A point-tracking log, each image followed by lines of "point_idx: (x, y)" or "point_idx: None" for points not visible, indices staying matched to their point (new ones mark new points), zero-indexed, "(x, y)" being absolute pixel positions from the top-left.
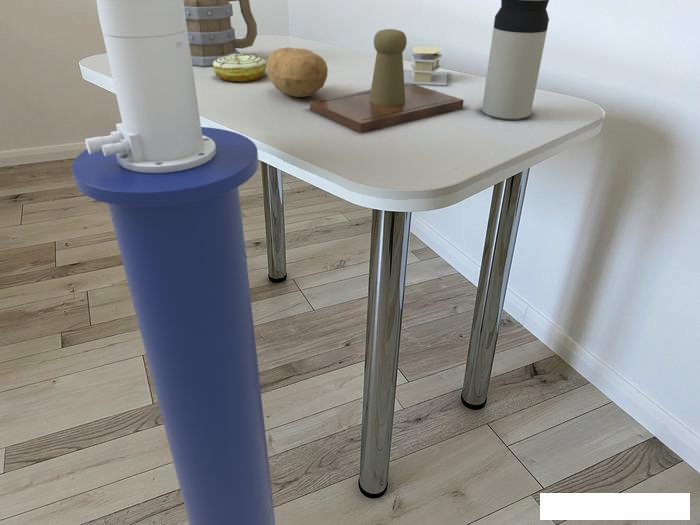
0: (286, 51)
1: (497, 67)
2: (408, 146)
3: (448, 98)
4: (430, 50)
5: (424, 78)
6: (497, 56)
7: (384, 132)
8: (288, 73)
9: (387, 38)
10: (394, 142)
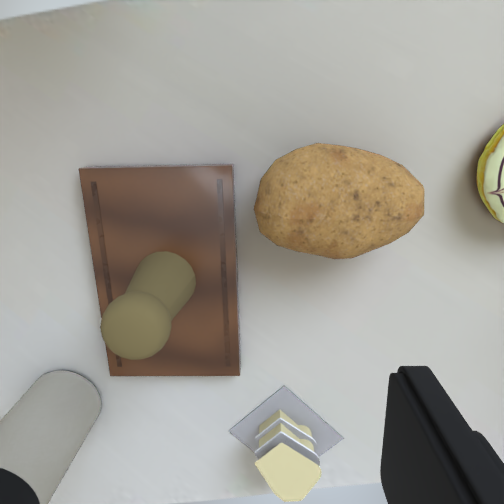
0: (354, 194)
1: (20, 417)
2: (5, 191)
3: (126, 363)
4: (279, 474)
5: (266, 423)
6: (13, 430)
7: (73, 201)
8: (290, 157)
9: (109, 308)
10: (28, 185)
